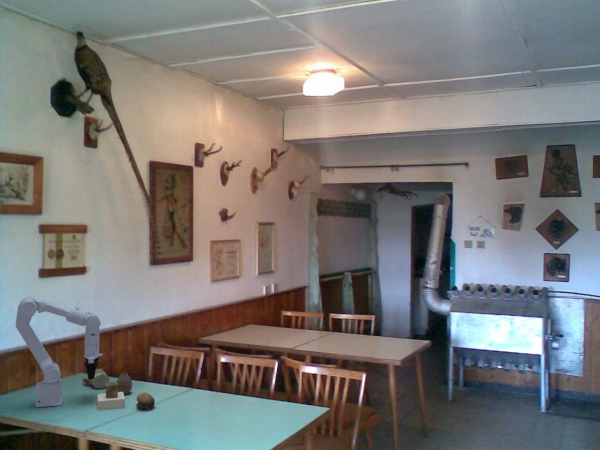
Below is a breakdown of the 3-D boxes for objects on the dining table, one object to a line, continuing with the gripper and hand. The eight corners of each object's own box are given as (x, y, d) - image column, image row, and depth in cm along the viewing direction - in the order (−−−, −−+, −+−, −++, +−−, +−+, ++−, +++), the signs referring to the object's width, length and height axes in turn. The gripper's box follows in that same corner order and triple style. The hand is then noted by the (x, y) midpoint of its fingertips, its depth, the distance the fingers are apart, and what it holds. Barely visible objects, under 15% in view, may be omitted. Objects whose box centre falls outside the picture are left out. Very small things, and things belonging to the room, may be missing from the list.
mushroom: (128, 400, 229) (138, 387, 229) (141, 403, 236) (151, 390, 236) (138, 414, 225) (148, 401, 225) (151, 416, 231) (161, 403, 231)
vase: (129, 396, 245) (129, 375, 245) (113, 395, 245) (113, 375, 245) (134, 391, 252) (134, 371, 252) (118, 391, 252) (118, 370, 252)
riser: (97, 411, 227) (98, 401, 227) (97, 403, 236) (97, 393, 236) (124, 408, 230) (124, 398, 230) (123, 401, 240) (123, 391, 240)
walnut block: (105, 398, 230) (106, 385, 230) (105, 395, 234) (105, 382, 234) (117, 397, 232) (117, 385, 232) (117, 394, 236) (117, 382, 236)
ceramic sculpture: (90, 371, 251) (81, 366, 263) (90, 391, 250) (80, 385, 263) (115, 368, 257) (104, 363, 269) (115, 388, 257) (104, 382, 269)
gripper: (101, 347, 234) (101, 380, 234) (102, 339, 248) (102, 371, 248) (83, 347, 232) (82, 381, 232) (85, 340, 246) (84, 372, 246)
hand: (91, 376), depth 240 cm, fingers open, 7 cm apart
